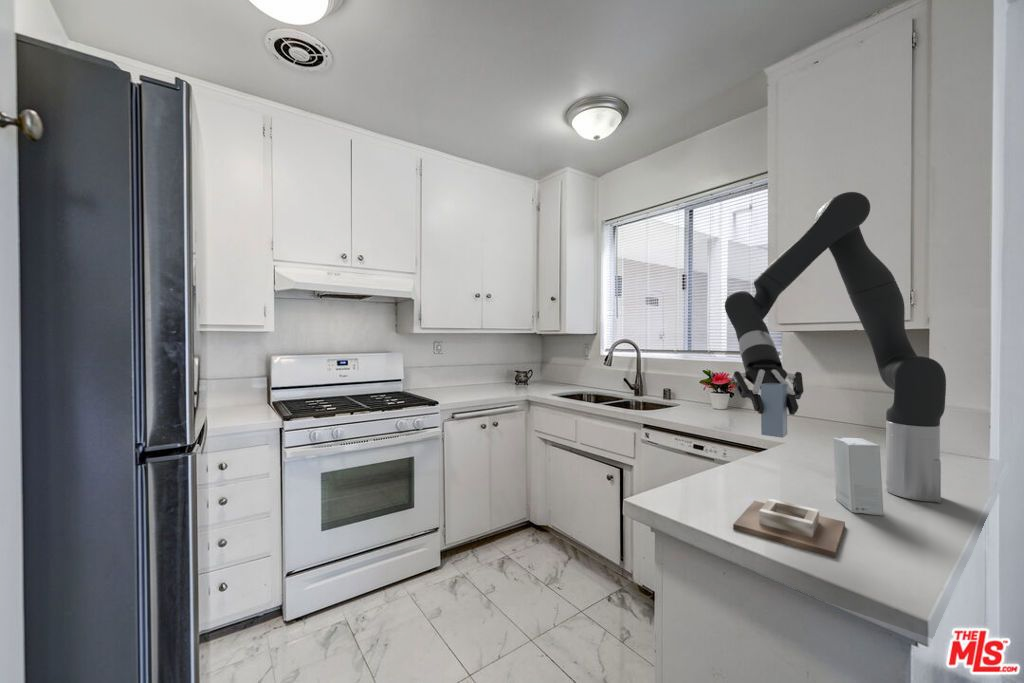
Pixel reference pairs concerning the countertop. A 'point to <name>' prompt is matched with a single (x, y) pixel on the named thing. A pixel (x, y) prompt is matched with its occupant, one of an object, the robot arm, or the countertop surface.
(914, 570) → the countertop surface
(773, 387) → the plug
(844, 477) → the skincare box
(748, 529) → the socket board
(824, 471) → the countertop surface
